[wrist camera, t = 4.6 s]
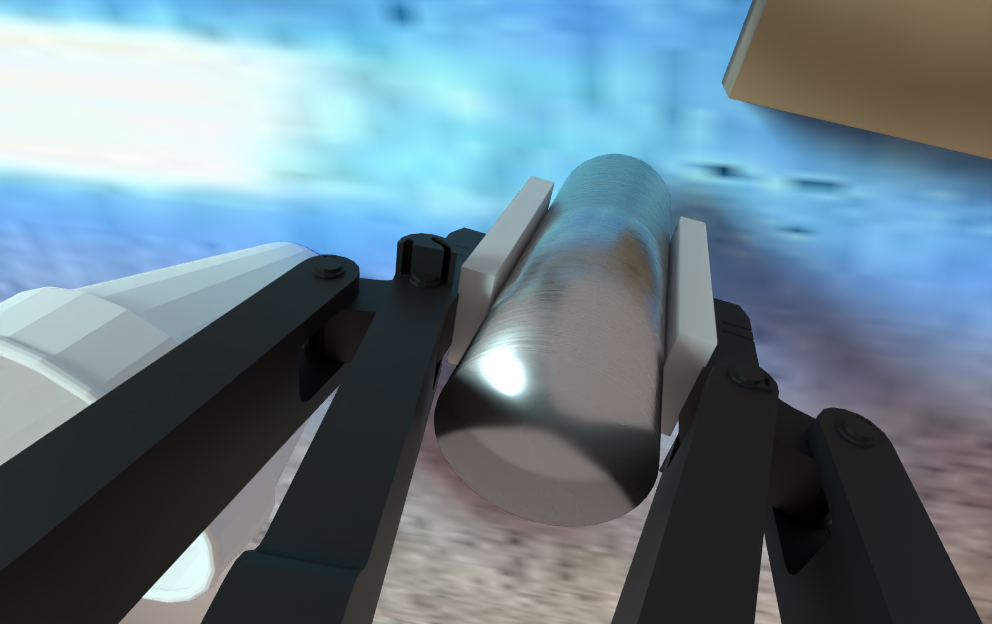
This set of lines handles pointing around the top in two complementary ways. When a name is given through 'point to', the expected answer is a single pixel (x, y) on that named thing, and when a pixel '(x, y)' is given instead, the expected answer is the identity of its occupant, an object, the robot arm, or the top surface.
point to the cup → (123, 353)
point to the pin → (571, 358)
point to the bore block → (873, 66)
